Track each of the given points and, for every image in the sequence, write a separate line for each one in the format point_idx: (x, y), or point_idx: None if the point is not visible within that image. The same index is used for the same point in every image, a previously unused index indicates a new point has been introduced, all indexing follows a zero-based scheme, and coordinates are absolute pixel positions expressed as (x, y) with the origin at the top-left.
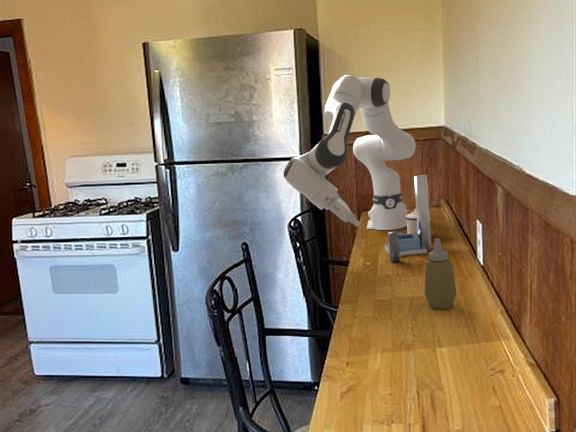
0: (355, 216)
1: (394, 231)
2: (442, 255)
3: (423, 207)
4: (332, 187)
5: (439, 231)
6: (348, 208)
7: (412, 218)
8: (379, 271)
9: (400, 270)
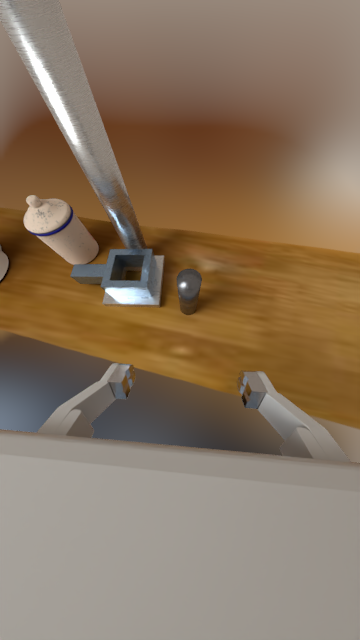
0: (125, 371)
1: (182, 275)
2: None
3: (117, 169)
4: None
5: None
6: (266, 502)
7: (59, 226)
8: (237, 341)
9: (241, 310)
